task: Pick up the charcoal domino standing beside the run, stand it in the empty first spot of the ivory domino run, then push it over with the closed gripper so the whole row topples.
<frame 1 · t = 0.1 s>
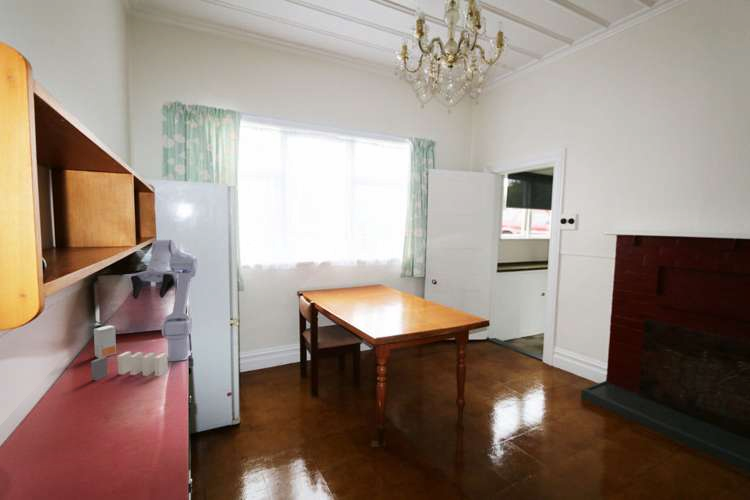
hand: (148, 296, 111), 32 cm above the table, tool tilted 50°, fingers open, 7 cm apart
ivory domino 3: (137, 372, 127), on the table
charcoal domino: (100, 377, 122), on the table
ivory domino 4: (149, 372, 126), on the table
ivory domino 5: (161, 373, 126), on the table
ivory domino 2: (125, 371, 127), on the table
skincare box: (106, 355, 142), on the table
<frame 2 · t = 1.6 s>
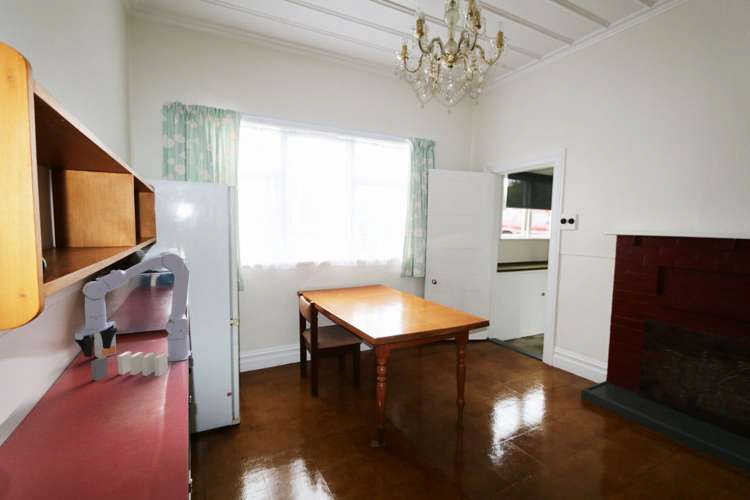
hand: (97, 352, 121), 10 cm above the table, tool pointing down, fingers open, 7 cm apart
nothing on the table moved.
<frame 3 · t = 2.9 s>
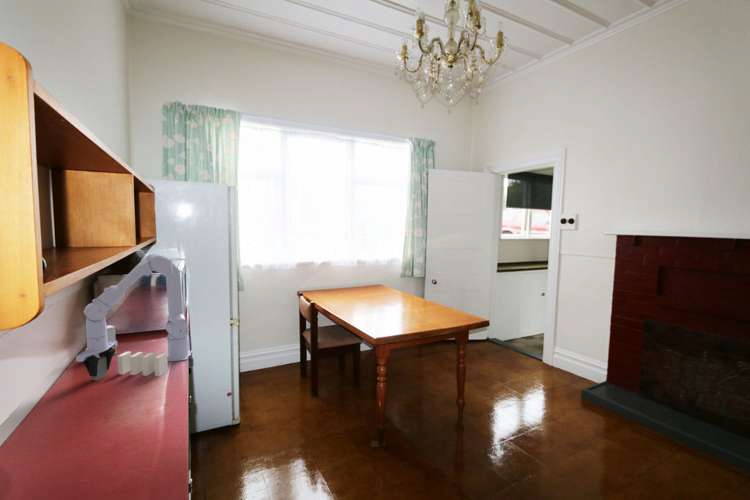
hand: (99, 372, 122), 2 cm above the table, tool pointing down, fingers closed on charcoal domino, 4 cm apart
charcoal domino: (100, 377, 122), on the table, touching gripper
everything else where it was.
when the fingers open (3 cm above the table, at t = 6.6 s): charcoal domino drops 1 cm, on the table.
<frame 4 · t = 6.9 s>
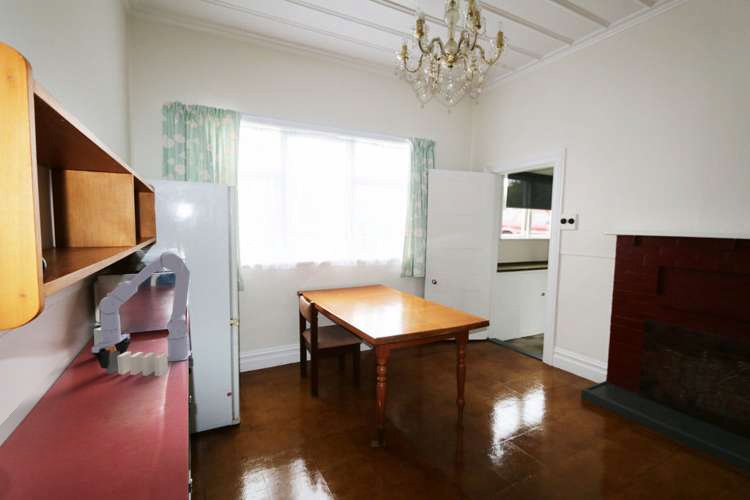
hand: (113, 363, 127), 3 cm above the table, tool pointing down, fingers open, 7 cm apart
charcoal domino: (113, 371, 127), on the table
everything else where it was.
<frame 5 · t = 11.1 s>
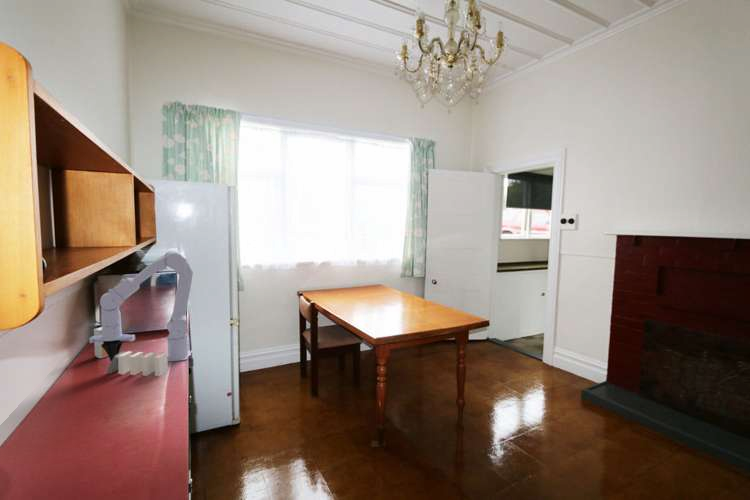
hand: (114, 359, 127), 4 cm above the table, tool pointing down, fingers closed
charcoal domino: (113, 370, 127), on the table, tilted 29°
everything else where it was.
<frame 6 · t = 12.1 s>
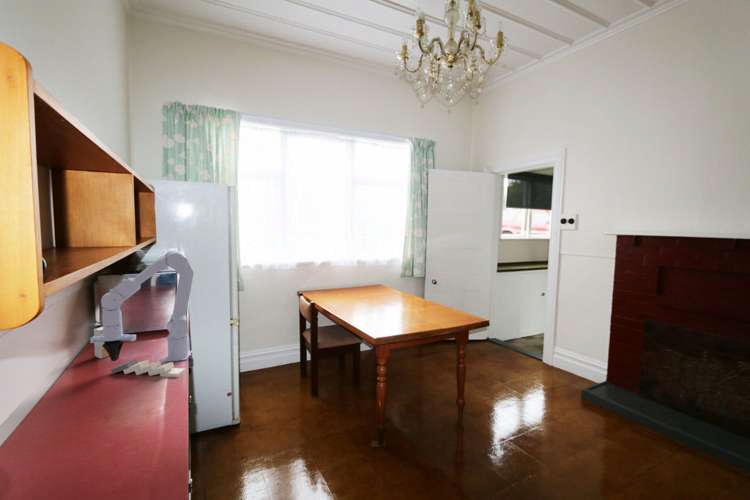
hand: (114, 359, 127), 4 cm above the table, tool pointing down, fingers closed
ivory domino 3: (140, 370, 126), point 1 cm above the table, tilted 69°, touching ivory domino 2, ivory domino 4
charcoal domino: (116, 369, 127), point 1 cm above the table, tilted 68°, touching ivory domino 2
ivory domino 4: (153, 371, 126), point 1 cm above the table, tilted 72°, touching ivory domino 3, ivory domino 5
ivory domino 5: (164, 372, 126), on the table, tilted 90°, touching ivory domino 4
ivory domino 2: (128, 369, 127), point 1 cm above the table, tilted 68°, touching charcoal domino, ivory domino 3
everything else where it was.
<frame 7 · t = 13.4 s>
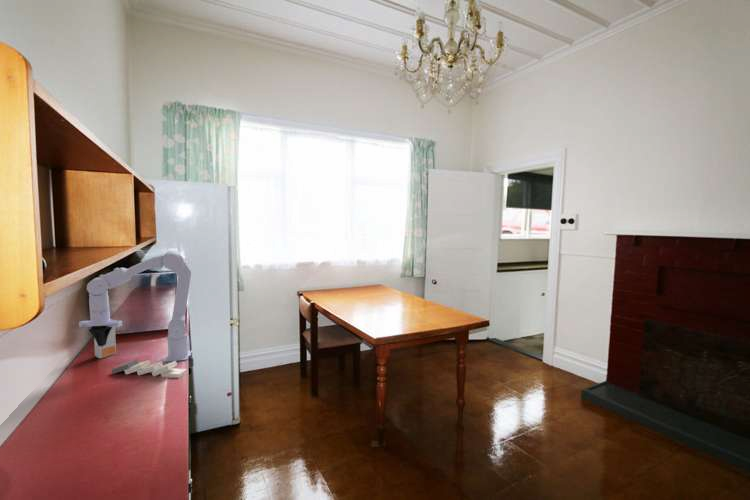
hand: (102, 345, 127), 10 cm above the table, tool pointing down, fingers closed
charcoal domino: (117, 369, 127), point 1 cm above the table, tilted 69°
ivory domino 4: (156, 371, 125), point 1 cm above the table, tilted 66°, touching ivory domino 3, ivory domino 5
ivory domino 2: (129, 370, 127), point 1 cm above the table, tilted 69°, touching ivory domino 3
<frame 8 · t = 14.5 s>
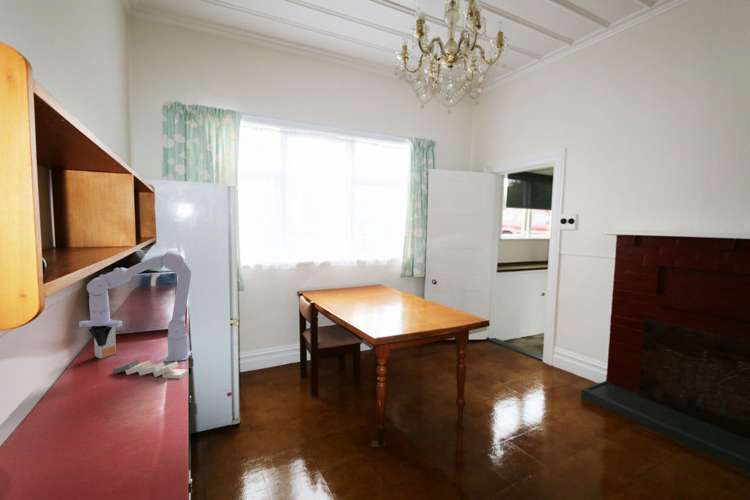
hand: (102, 345, 127), 10 cm above the table, tool pointing down, fingers closed
charcoal domino: (118, 369, 127), point 1 cm above the table, tilted 70°, touching ivory domino 2
ivory domino 4: (159, 372, 125), point 1 cm above the table, tilted 65°, touching ivory domino 3
ivory domino 5: (166, 373, 125), on the table, tilted 90°
ivory domino 2: (131, 370, 127), point 1 cm above the table, tilted 70°, touching charcoal domino, ivory domino 3
at the end: ivory domino 5 tilted 90°; charcoal domino inside the target area (1.8 cm from its centre), point 0.8 cm above the table; charcoal domino tilted 70° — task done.
